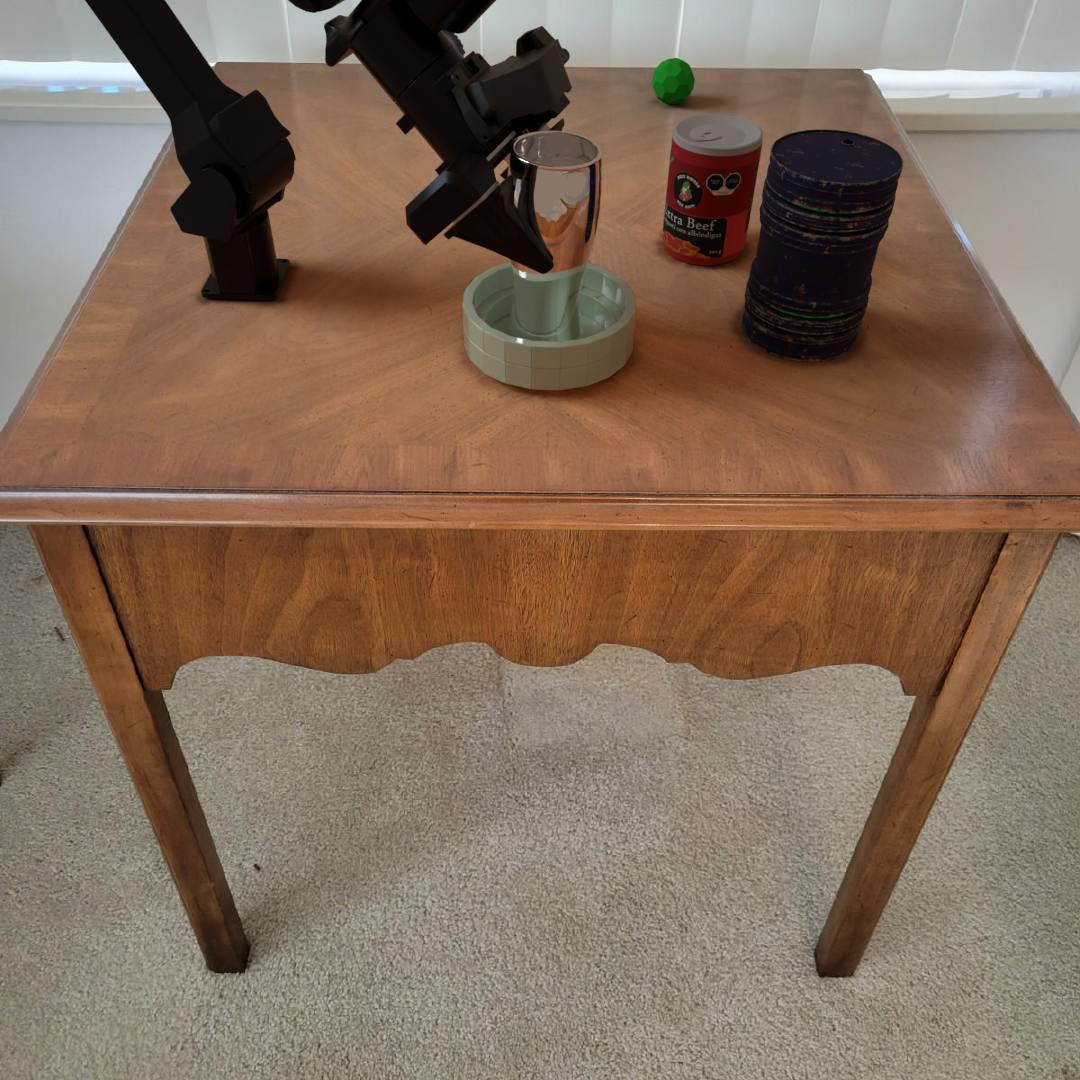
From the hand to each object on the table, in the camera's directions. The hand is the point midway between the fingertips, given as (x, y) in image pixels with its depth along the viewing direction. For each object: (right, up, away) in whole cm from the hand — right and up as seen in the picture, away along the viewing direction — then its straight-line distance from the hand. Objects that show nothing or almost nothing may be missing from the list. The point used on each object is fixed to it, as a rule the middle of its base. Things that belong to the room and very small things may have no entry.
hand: (565, 249), depth 77 cm
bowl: (-1, -6, +7) cm, 9 cm away
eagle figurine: (-15, +35, +50) cm, 62 cm away
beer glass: (-2, -5, +6) cm, 8 cm away
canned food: (+13, +6, +19) cm, 24 cm away
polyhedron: (+14, +30, +45) cm, 56 cm away
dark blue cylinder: (+20, -4, +9) cm, 22 cm away
